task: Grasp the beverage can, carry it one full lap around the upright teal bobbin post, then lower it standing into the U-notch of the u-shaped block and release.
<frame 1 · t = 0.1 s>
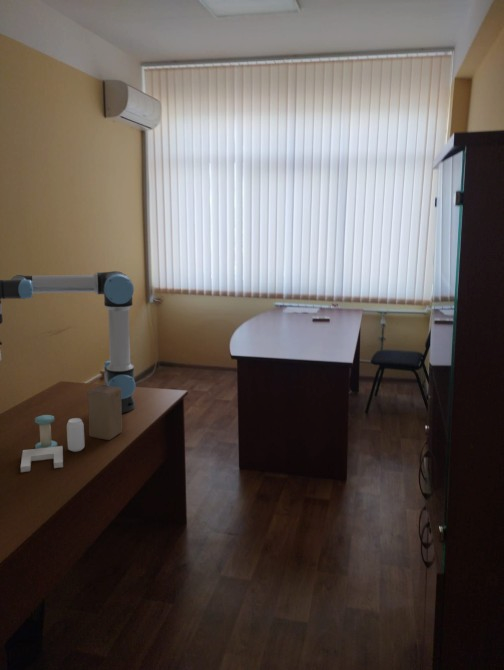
u-shaped block: (42, 460, 198), on the table
wooden block: (106, 435, 222), on the table
beverage can: (76, 449, 208), on the table
bobbin: (46, 447, 209), on the table
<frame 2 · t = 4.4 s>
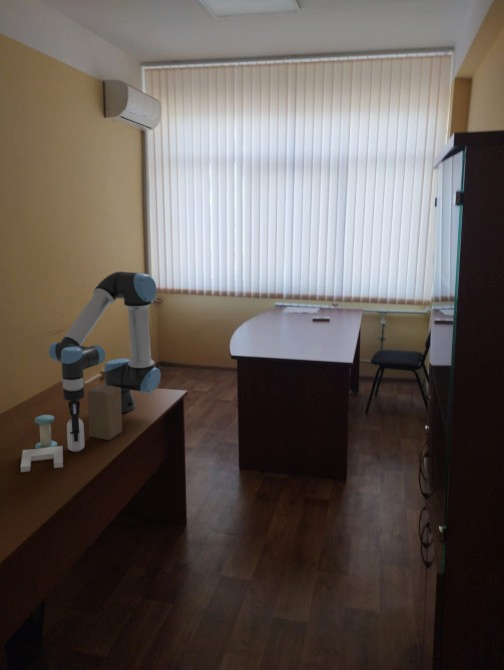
hand: (76, 444, 208), 2 cm above the table, fingers closed on beverage can, 6 cm apart
beverage can: (76, 449, 208), on the table, touching gripper
everything else where it was.
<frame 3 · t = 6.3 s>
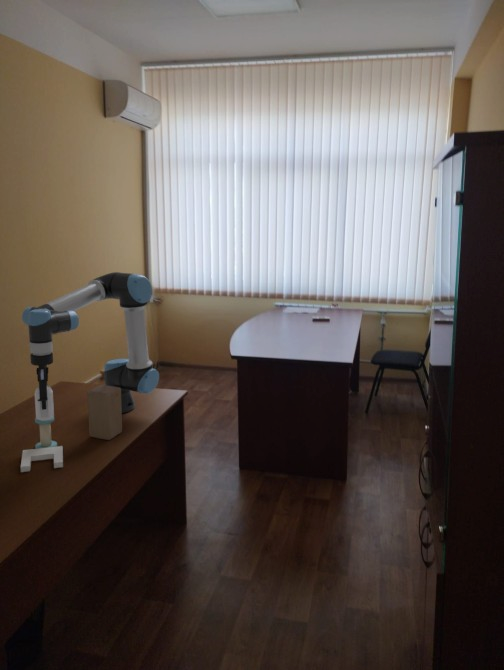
hand: (44, 413, 197), 17 cm above the table, fingers closed on beverage can, 6 cm apart
beverage can: (45, 419, 197), point 15 cm above the table, touching gripper
everything else where it was.
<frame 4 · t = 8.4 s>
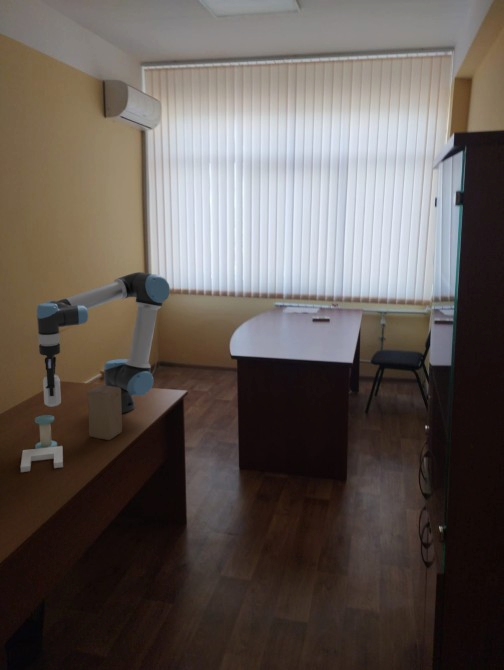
hand: (52, 400, 212), 17 cm above the table, fingers closed on beverage can, 6 cm apart
beverage can: (52, 405, 213), point 15 cm above the table, touching gripper
everything else where it was.
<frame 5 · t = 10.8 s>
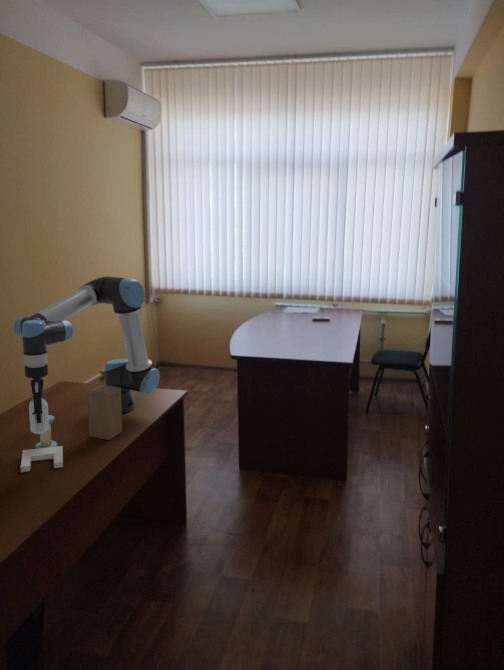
hand: (39, 426, 192), 15 cm above the table, fingers closed on beverage can, 6 cm apart
beverage can: (40, 432, 192), point 13 cm above the table, touching gripper
everything else where it was.
when the fingers open (4 cm above the table, at t = 12.9 s): beverage can drops 2 cm, on the table.
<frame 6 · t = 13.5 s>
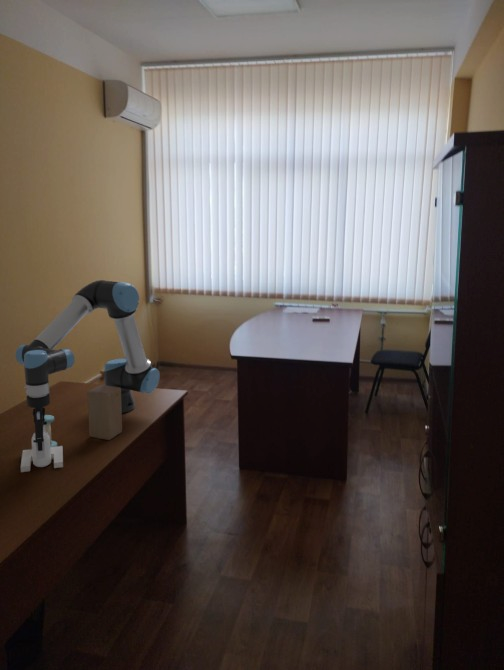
hand: (41, 450, 194), 6 cm above the table, fingers open, 13 cm apart
beverage can: (42, 464, 195), on the table
everything else where it was.
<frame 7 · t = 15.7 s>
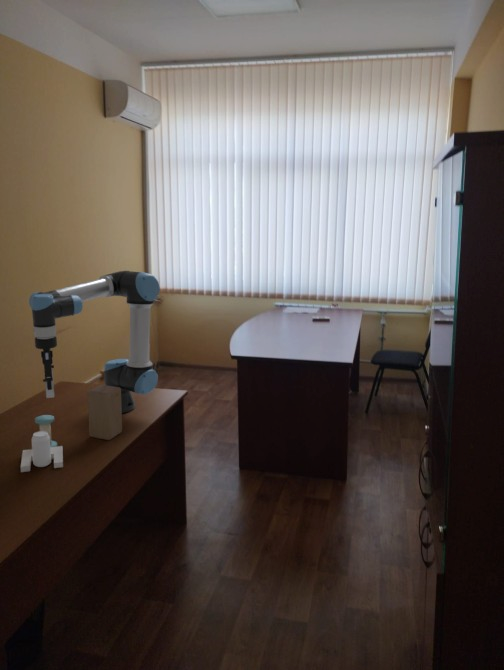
hand: (50, 391, 202), 24 cm above the table, fingers open, 13 cm apart
nothing on the table moved.
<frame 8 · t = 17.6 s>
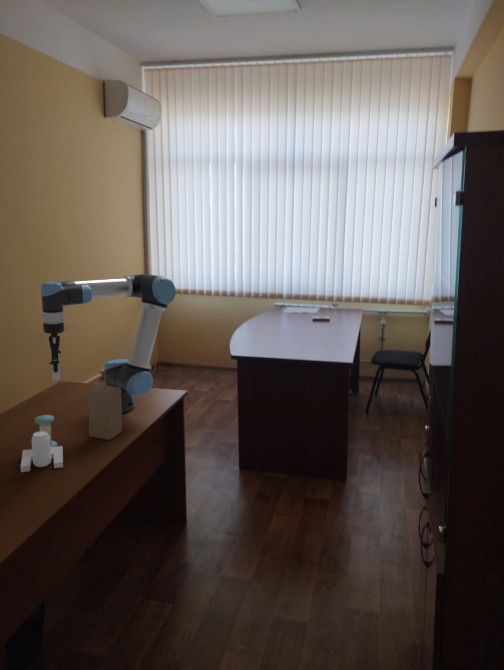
hand: (56, 374, 212), 27 cm above the table, fingers open, 13 cm apart
nothing on the table moved.
at the end: beverage can 0.7 cm from the target spot on the u-shaped block, point 0.0 cm above the u-shaped block's base; beverage can tilted 0°; the gripper is holding nothing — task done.
